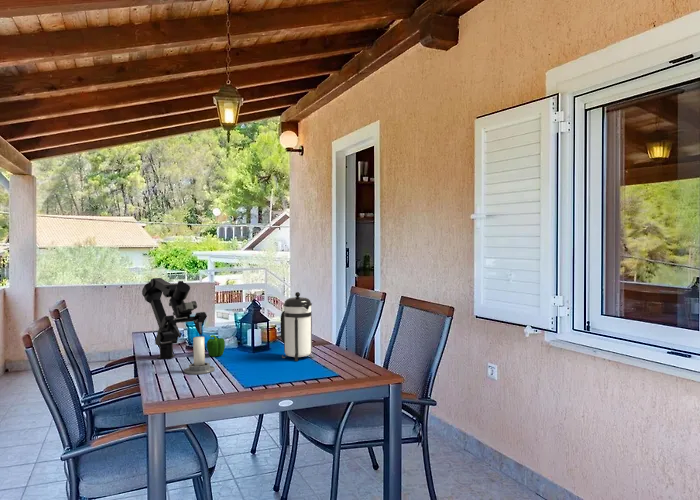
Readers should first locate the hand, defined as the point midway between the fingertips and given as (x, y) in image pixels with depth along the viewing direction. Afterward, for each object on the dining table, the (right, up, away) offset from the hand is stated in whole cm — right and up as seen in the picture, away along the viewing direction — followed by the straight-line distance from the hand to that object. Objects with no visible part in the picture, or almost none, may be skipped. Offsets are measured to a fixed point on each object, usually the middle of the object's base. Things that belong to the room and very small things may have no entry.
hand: (190, 335), depth 224 cm
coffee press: (+43, -13, +18) cm, 48 cm away
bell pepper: (+5, -13, +23) cm, 27 cm away
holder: (+5, -14, -5) cm, 16 cm away
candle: (+5, -13, -5) cm, 15 cm away
